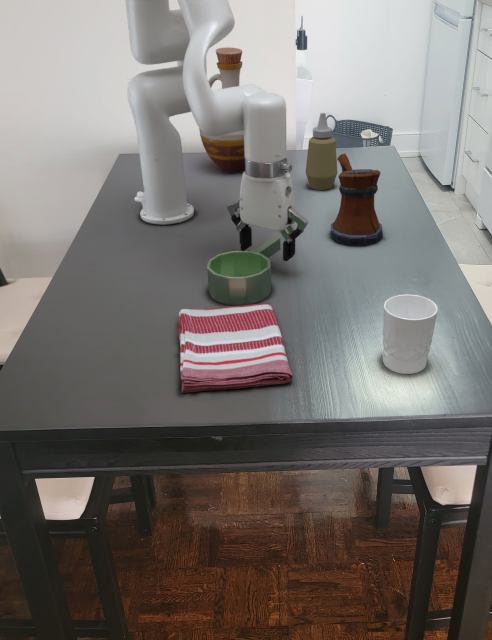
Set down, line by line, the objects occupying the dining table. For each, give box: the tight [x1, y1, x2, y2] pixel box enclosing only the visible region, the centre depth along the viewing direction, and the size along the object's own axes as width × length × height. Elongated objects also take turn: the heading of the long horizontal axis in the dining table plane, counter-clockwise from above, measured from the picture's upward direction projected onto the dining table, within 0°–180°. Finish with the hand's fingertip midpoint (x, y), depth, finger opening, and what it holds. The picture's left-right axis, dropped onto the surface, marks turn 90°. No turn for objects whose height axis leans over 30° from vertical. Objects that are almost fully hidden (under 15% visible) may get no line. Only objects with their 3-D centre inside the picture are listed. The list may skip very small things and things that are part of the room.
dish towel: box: [178, 302, 294, 394], centre depth 112 cm, size 17×23×3 cm
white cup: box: [382, 293, 439, 375], centre depth 106 cm, size 8×8×10 cm
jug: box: [198, 47, 245, 174], centre depth 182 cm, size 20×18×30 cm
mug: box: [330, 153, 384, 247], centre depth 148 cm, size 18×12×15 cm, turn 11°
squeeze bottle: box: [305, 112, 338, 191], centre depth 171 cm, size 8×8×18 cm
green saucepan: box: [206, 236, 281, 306], centre depth 131 cm, size 20×12×6 cm, turn 148°
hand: (267, 253), depth 135 cm, fingers open, 9 cm apart
